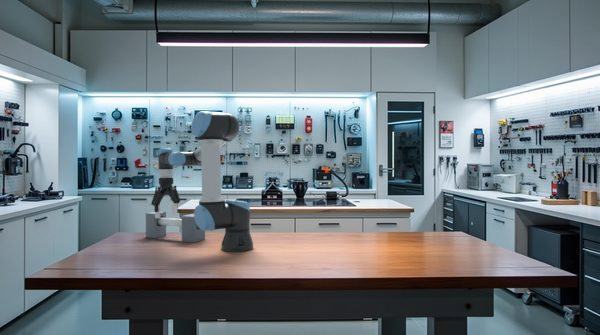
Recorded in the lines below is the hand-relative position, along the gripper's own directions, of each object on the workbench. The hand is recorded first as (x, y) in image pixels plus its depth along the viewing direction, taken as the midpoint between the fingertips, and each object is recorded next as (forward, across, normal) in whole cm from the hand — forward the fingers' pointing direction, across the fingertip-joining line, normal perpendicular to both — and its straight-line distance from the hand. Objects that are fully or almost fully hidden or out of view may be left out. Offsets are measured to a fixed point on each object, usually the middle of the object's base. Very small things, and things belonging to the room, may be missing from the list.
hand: (166, 216), depth 226 cm
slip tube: (+5, 0, +5) cm, 7 cm away
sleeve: (+12, 0, +17) cm, 21 cm away
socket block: (+11, 0, -8) cm, 13 cm away
